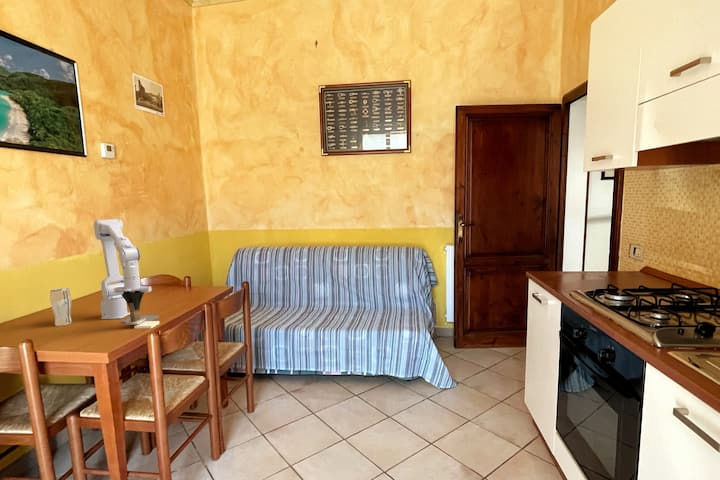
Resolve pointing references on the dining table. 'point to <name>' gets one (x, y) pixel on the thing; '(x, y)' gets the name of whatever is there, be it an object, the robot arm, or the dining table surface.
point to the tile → (146, 324)
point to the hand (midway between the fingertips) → (134, 309)
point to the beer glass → (61, 306)
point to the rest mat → (148, 318)
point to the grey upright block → (134, 315)
